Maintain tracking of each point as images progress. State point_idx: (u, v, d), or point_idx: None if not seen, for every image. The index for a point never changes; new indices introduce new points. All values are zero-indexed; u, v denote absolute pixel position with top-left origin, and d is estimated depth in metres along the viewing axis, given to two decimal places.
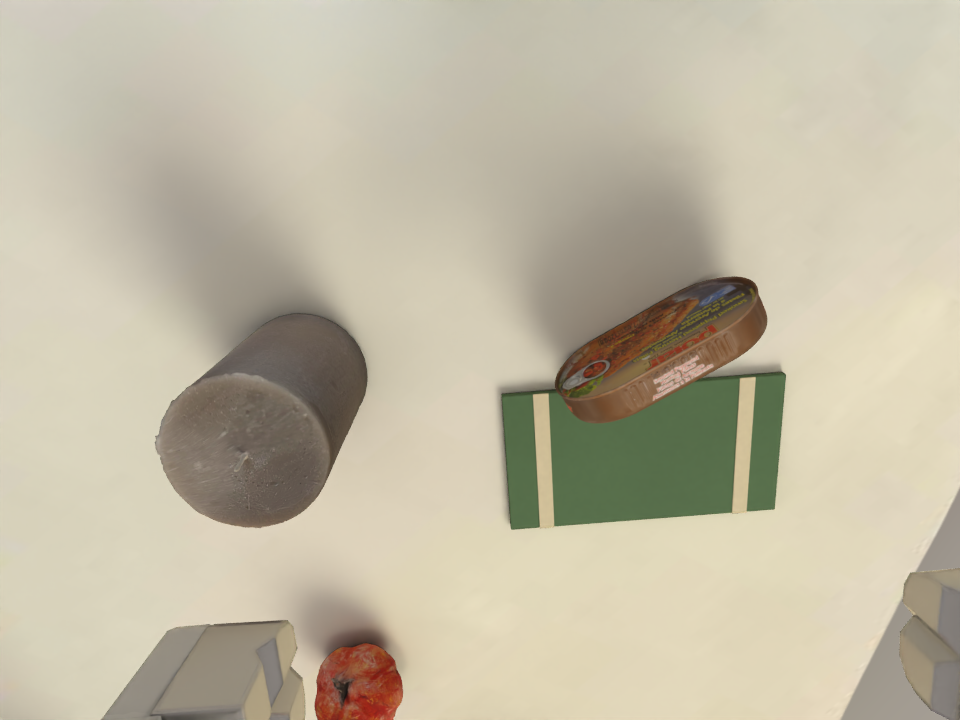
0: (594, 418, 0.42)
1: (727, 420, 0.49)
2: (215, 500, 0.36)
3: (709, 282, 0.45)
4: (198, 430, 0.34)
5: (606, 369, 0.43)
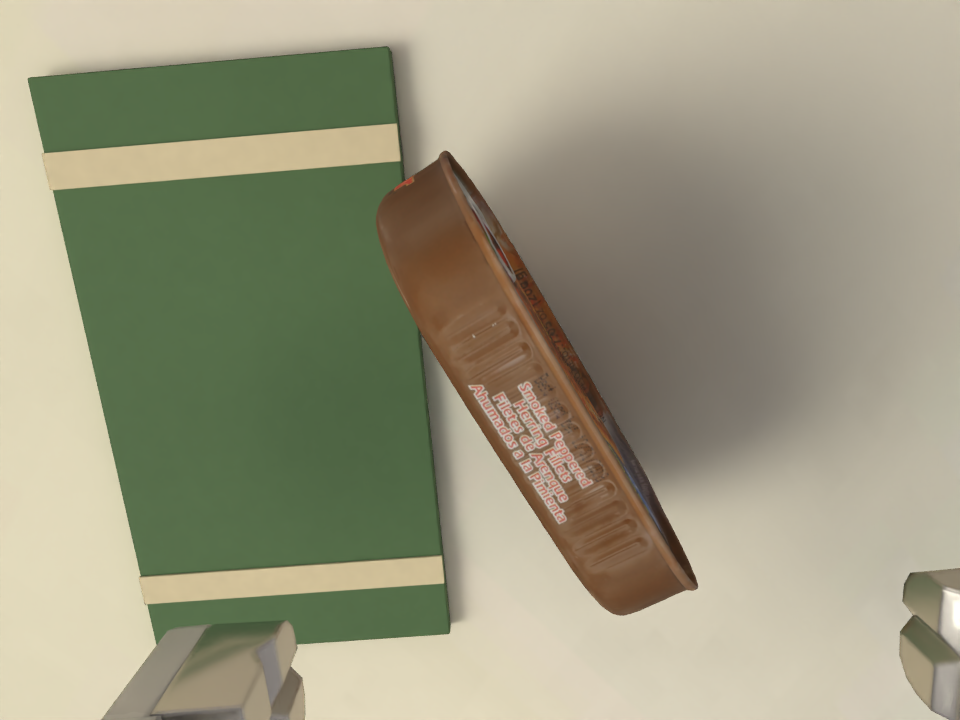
0: (399, 236, 0.15)
1: (350, 544, 0.24)
2: None
3: (643, 478, 0.23)
4: None
5: (508, 272, 0.18)
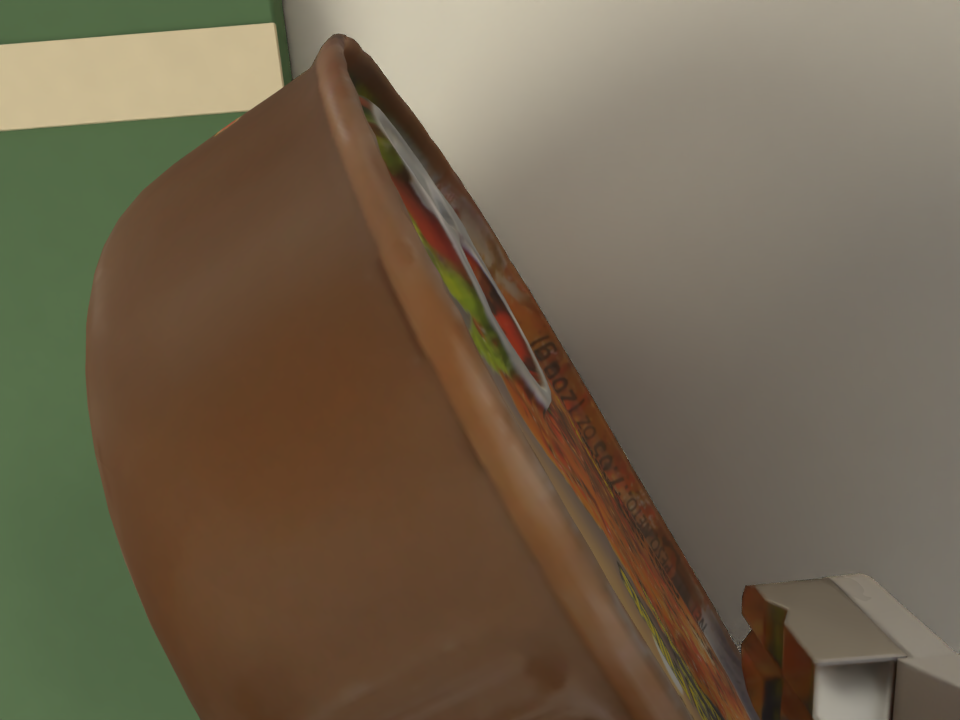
0: (133, 316, 0.04)
1: None
2: None
3: None
4: None
5: (537, 391, 0.06)
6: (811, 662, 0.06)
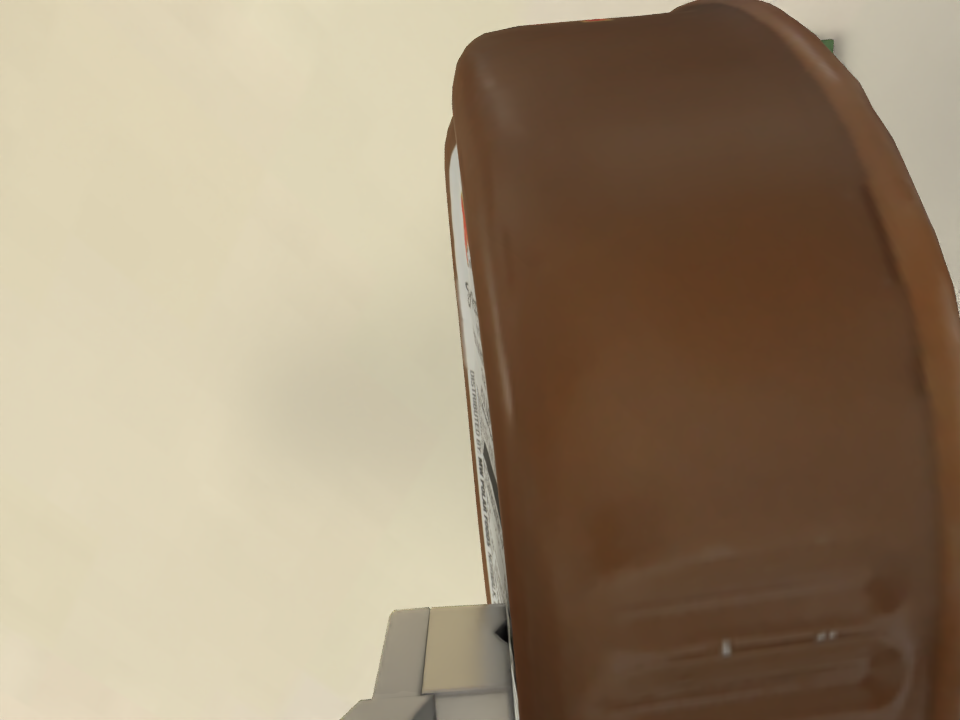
0: (563, 133, 0.04)
1: None
2: None
3: None
4: None
5: None
6: None
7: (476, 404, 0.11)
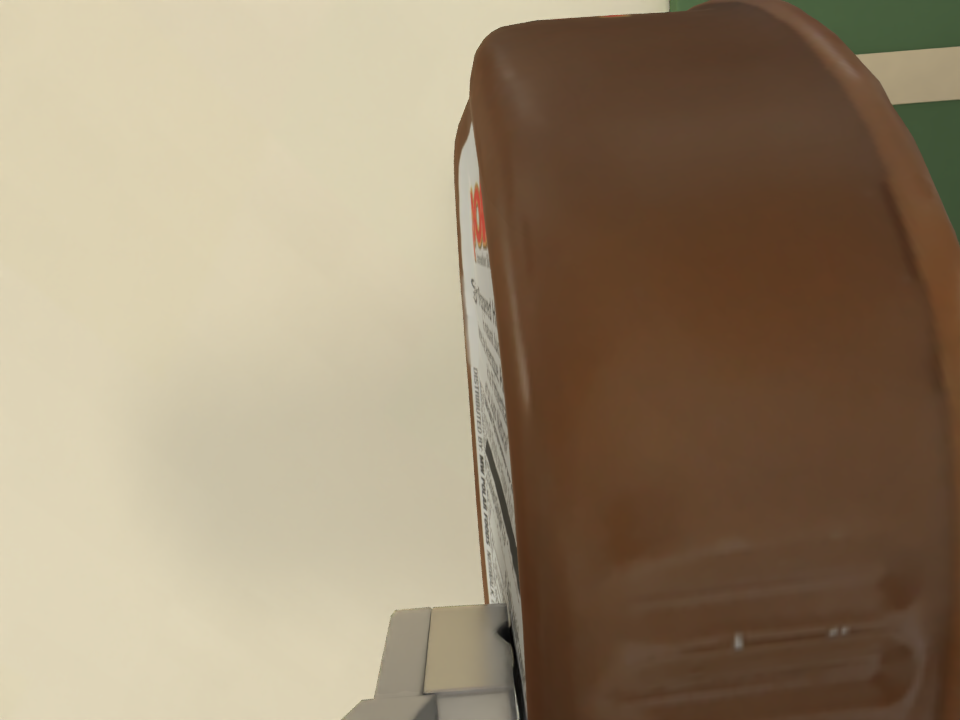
0: (583, 124, 0.04)
1: None
2: None
3: None
4: None
5: None
6: None
7: (479, 401, 0.11)
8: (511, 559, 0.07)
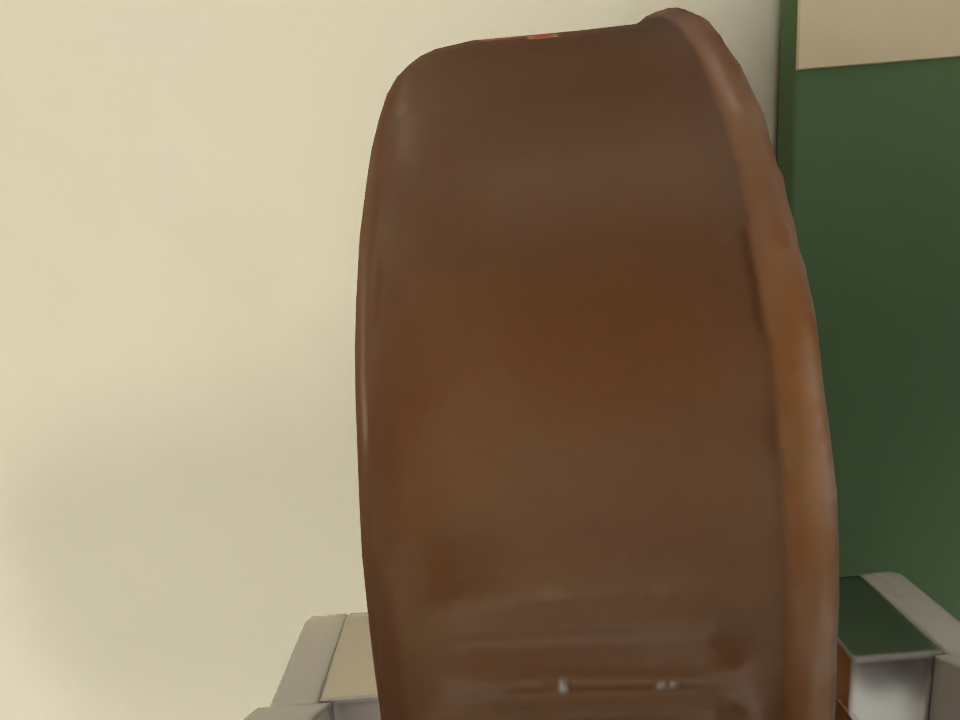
0: (452, 164, 0.04)
1: None
2: None
3: None
4: None
5: None
6: (847, 658, 0.06)
7: None
8: None
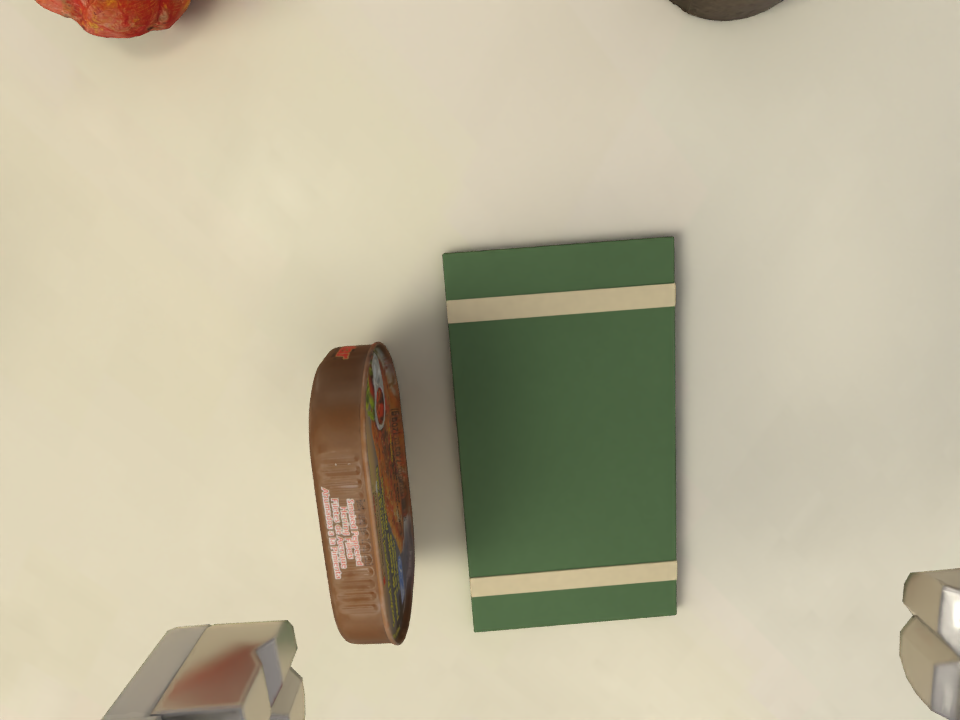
0: (323, 391, 0.27)
1: (616, 553, 0.36)
2: None
3: (411, 565, 0.35)
4: None
5: (378, 425, 0.29)
6: None
7: None
8: None
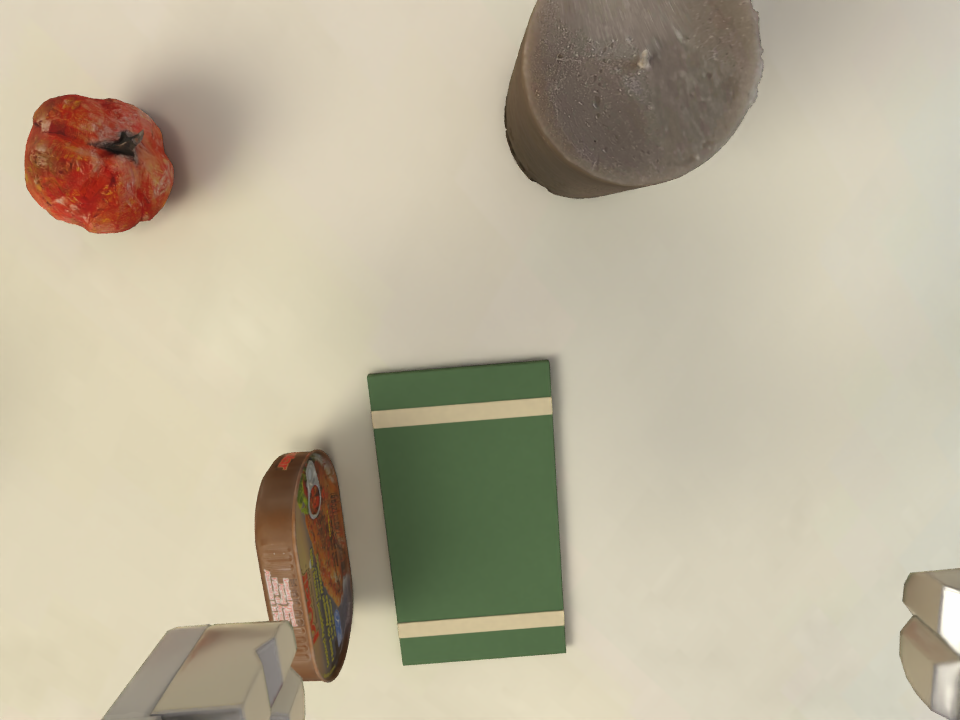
0: (265, 498, 0.36)
1: (514, 604, 0.45)
2: (572, 7, 0.24)
3: (350, 614, 0.44)
4: None
5: (312, 516, 0.38)
6: None
7: None
8: None
